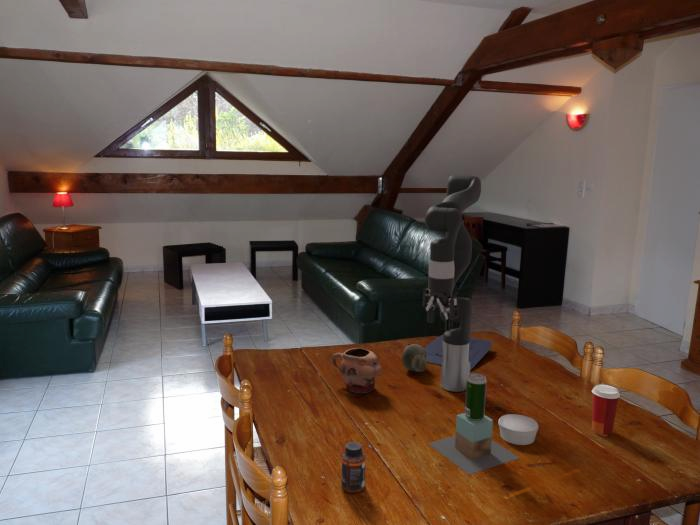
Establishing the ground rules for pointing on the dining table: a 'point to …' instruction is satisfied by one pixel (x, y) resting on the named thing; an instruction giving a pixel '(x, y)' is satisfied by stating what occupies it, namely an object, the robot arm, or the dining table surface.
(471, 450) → the tower base
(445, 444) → the mat
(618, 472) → the dining table surface
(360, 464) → the supplement bottle
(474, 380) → the beer can
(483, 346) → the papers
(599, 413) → the paper cup
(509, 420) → the ramekin
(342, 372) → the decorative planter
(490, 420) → the tower top
